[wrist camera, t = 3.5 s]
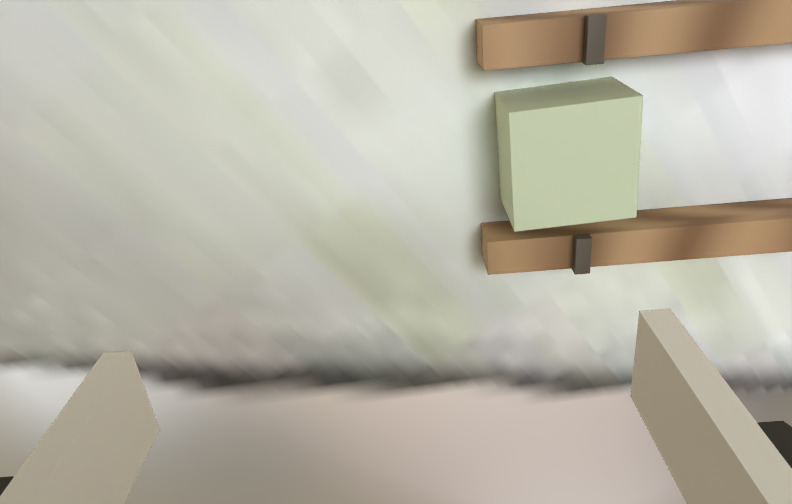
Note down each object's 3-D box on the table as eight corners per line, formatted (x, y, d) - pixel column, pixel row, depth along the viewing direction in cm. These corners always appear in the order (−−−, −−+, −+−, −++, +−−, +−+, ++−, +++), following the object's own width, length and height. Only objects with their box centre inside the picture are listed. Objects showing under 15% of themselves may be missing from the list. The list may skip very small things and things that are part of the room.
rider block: (500, 197, 34) (514, 231, 30) (494, 91, 31) (508, 112, 27) (607, 184, 34) (636, 217, 30) (610, 76, 31) (643, 95, 27)
